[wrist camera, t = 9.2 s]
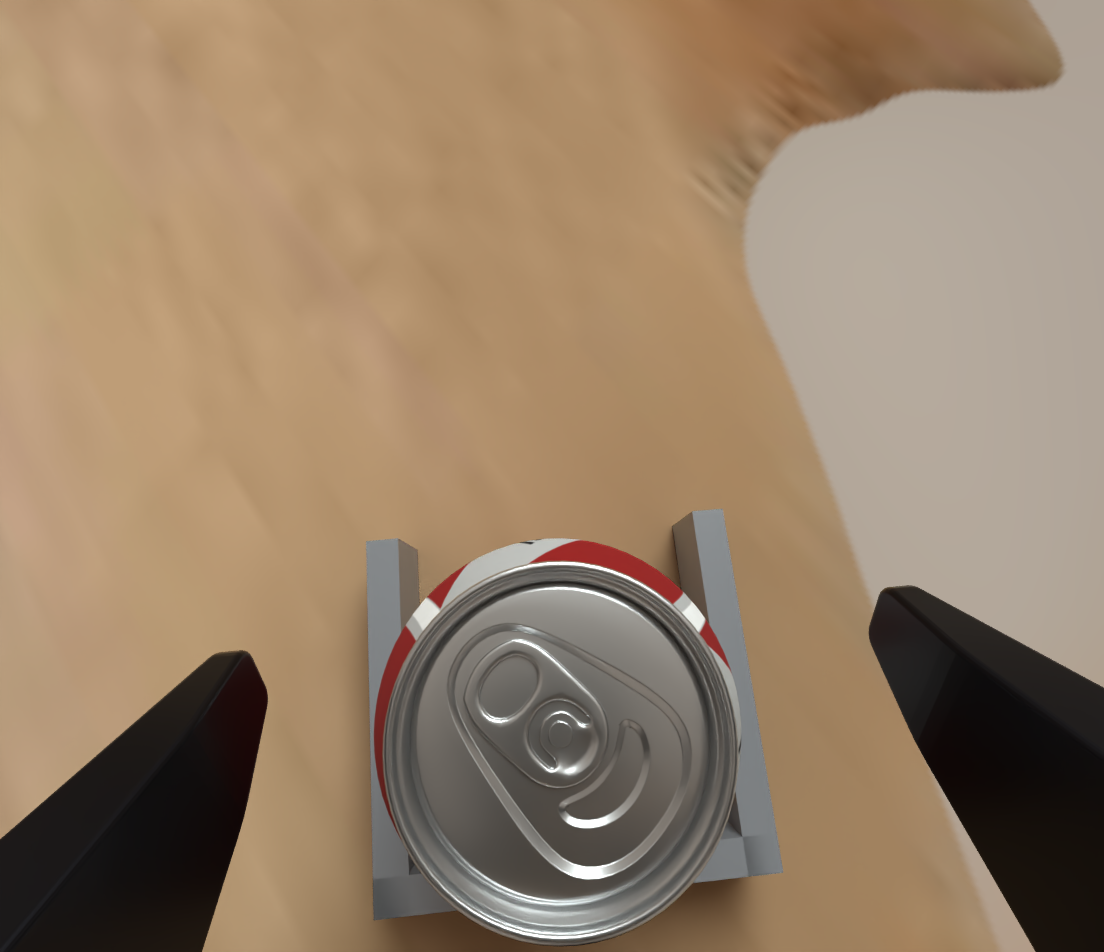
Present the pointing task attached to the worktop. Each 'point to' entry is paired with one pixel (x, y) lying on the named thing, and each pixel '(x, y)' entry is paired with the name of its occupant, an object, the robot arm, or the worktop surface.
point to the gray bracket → (714, 594)
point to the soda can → (558, 741)
